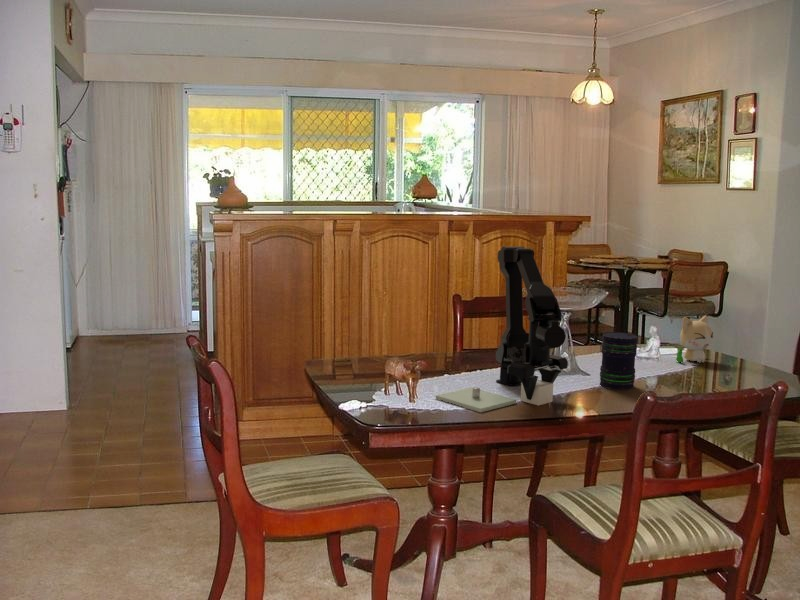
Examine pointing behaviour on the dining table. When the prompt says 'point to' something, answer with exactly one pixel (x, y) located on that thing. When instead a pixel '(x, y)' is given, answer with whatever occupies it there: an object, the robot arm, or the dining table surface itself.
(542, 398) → the block
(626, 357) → the storage jar
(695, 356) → the kitten
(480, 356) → the dining table surface
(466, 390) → the stub plate
